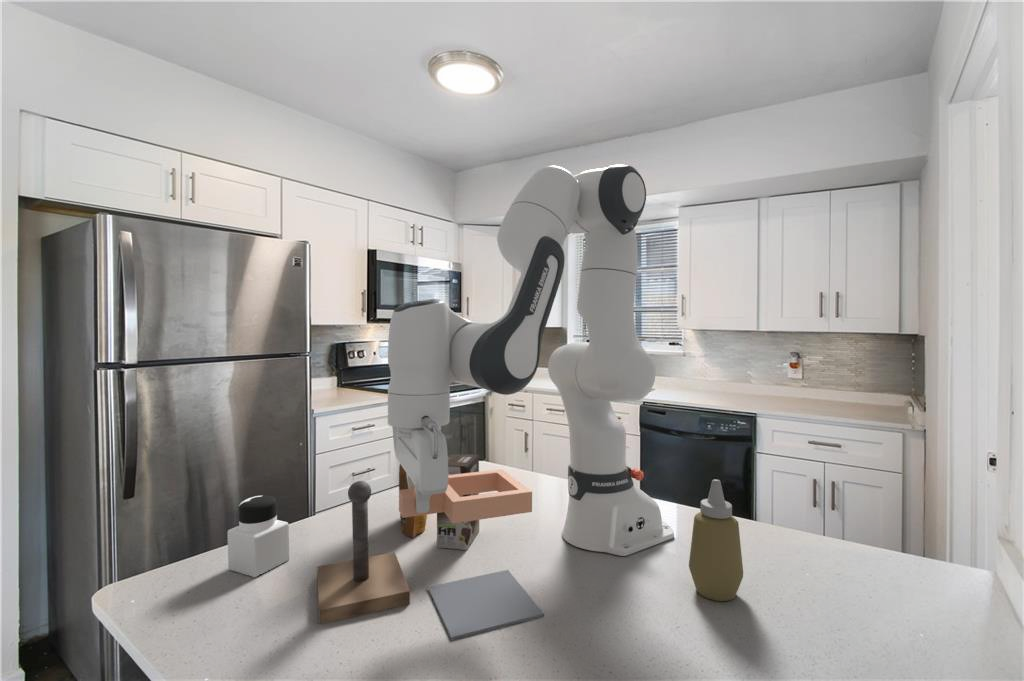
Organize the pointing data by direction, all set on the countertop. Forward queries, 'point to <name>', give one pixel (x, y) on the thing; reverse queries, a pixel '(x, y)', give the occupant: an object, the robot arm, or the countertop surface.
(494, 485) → the frame
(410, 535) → the pancake mix bag
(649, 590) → the countertop surface
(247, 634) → the countertop surface
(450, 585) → the mat
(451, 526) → the coffee box
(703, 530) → the squeeze bottle
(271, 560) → the medicine bottle
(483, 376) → the robot arm
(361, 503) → the stand
